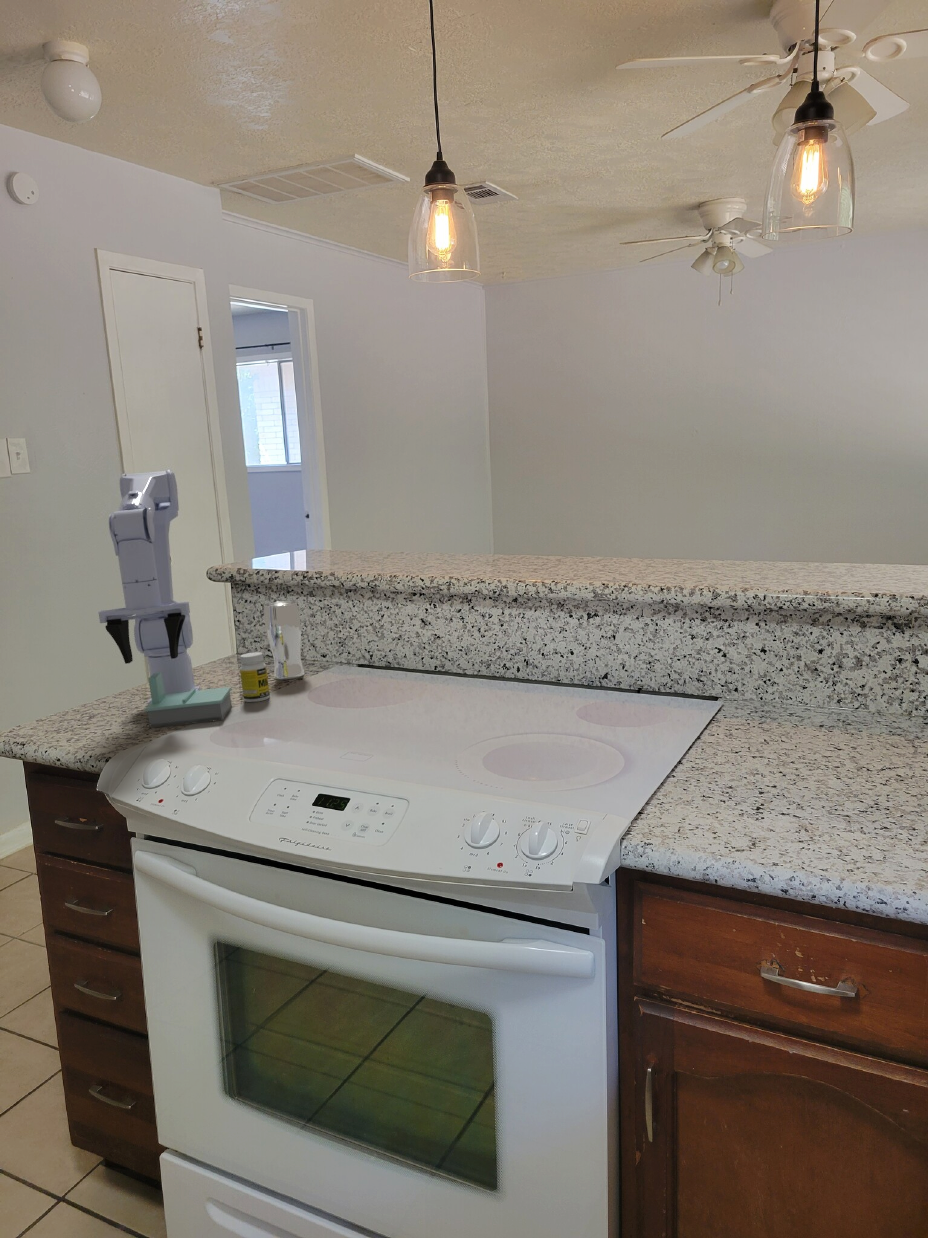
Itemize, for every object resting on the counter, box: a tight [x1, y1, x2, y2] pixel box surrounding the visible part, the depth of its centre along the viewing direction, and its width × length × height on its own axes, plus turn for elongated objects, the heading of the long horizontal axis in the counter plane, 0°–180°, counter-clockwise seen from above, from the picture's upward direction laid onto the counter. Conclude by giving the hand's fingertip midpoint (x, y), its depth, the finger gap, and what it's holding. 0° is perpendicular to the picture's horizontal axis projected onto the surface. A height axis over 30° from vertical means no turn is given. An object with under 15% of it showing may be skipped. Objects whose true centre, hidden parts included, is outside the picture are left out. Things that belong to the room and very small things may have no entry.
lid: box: [144, 672, 232, 712], centre depth 152 cm, size 10×13×5 cm
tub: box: [147, 691, 233, 729], centre depth 153 cm, size 9×12×3 cm
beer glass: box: [263, 599, 305, 681], centre depth 178 cm, size 7×7×15 cm
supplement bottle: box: [239, 651, 271, 703], centre depth 161 cm, size 5×5×8 cm
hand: (151, 660), depth 151 cm, fingers open, 7 cm apart
